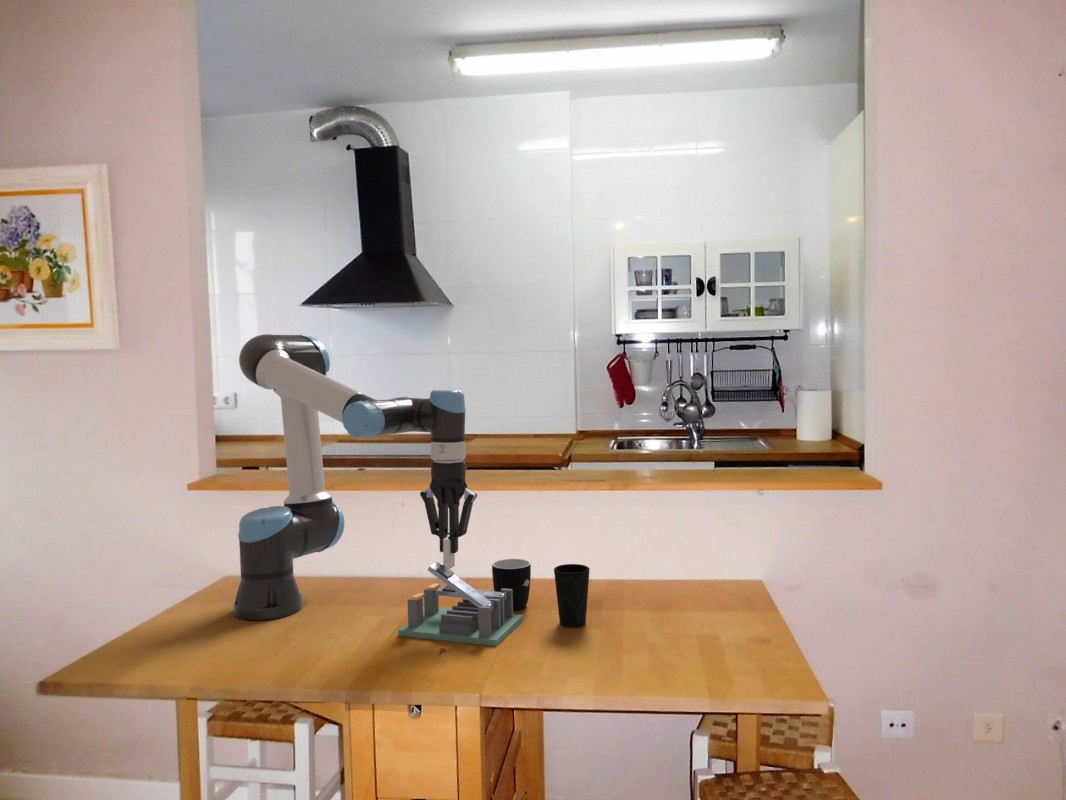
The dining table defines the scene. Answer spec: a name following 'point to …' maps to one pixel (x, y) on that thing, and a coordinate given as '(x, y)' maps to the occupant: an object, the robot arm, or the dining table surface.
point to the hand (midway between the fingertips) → (449, 567)
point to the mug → (513, 579)
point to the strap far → (452, 593)
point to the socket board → (460, 619)
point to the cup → (572, 594)
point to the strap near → (460, 586)
